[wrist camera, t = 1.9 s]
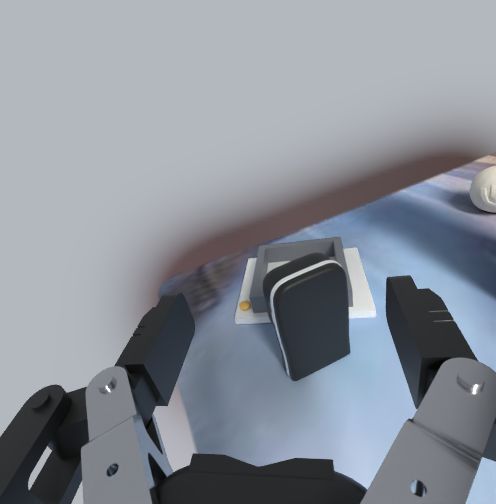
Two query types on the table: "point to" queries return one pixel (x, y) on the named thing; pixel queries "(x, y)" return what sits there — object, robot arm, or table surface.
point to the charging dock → (276, 255)
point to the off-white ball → (484, 190)
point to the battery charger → (309, 312)
